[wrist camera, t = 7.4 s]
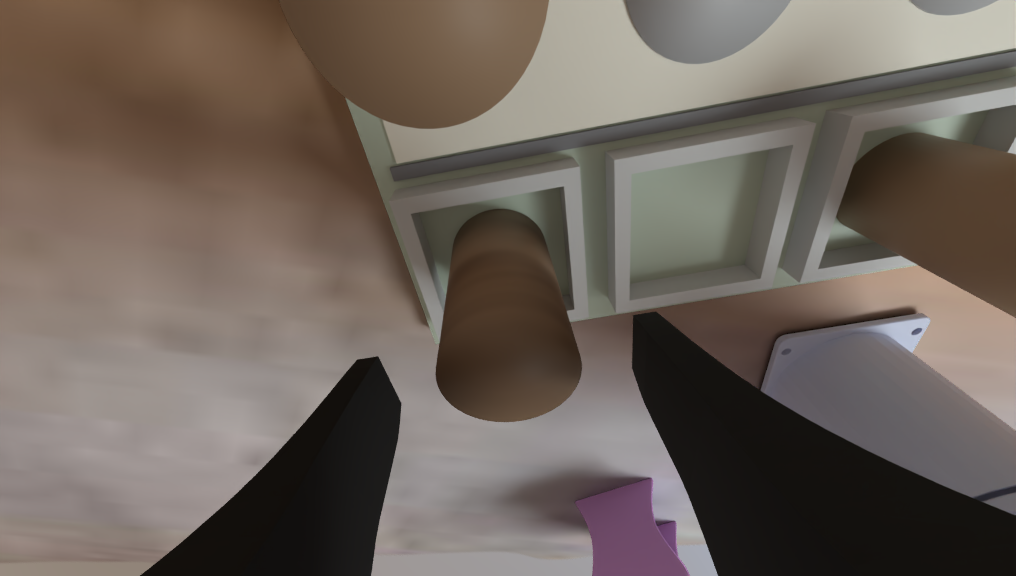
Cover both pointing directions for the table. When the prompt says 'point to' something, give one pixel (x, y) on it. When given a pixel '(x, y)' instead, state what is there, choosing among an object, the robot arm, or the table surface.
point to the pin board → (687, 137)
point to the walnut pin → (505, 323)
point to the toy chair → (630, 534)
